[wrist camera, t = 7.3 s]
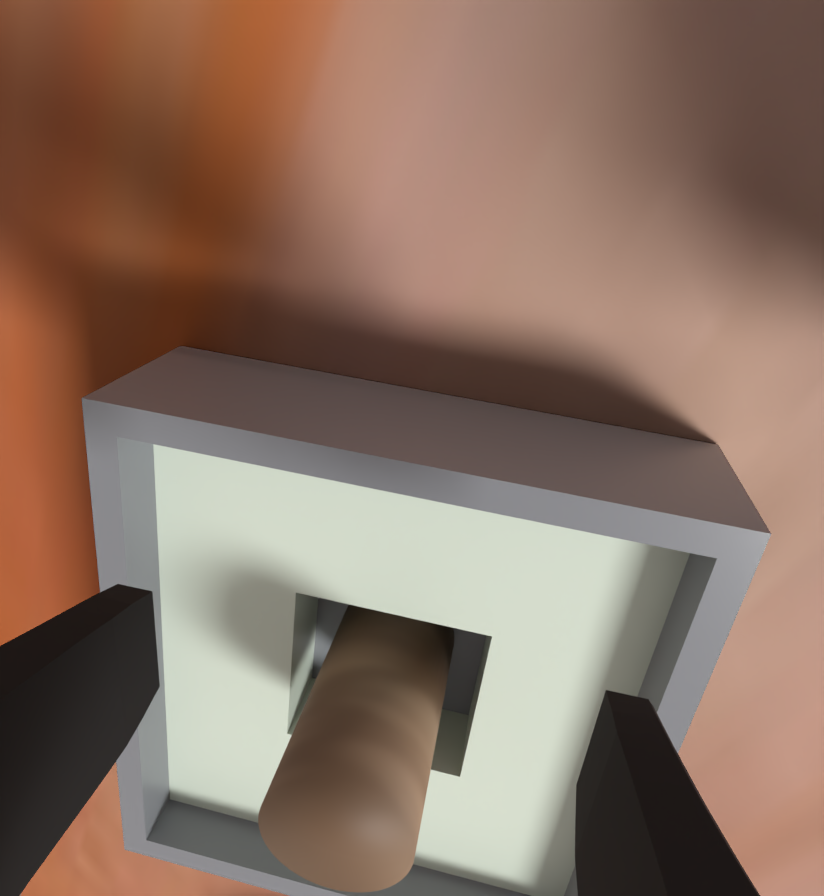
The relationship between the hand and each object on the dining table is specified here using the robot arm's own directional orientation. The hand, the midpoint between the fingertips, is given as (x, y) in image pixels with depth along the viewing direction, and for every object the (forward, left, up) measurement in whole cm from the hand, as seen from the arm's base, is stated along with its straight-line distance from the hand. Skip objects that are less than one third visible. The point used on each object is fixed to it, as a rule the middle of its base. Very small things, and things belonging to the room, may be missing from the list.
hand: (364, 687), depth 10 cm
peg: (+1, +6, -9) cm, 11 cm away
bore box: (+1, +6, -9) cm, 11 cm away
